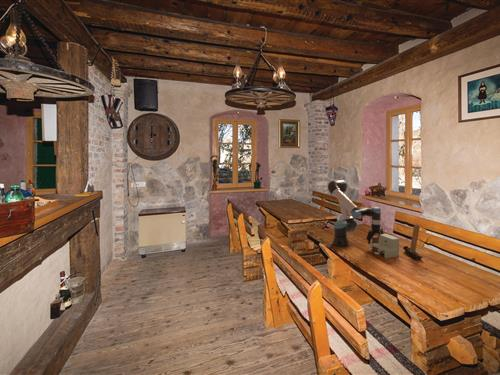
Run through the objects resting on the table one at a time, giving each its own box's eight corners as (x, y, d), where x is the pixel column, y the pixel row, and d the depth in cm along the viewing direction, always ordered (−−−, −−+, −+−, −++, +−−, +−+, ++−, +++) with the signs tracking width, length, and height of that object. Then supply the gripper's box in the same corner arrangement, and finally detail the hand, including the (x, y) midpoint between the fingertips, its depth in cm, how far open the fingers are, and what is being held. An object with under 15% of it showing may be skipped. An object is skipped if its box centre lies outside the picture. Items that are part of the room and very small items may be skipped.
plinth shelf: (372, 252, 246) (372, 235, 244) (384, 250, 250) (385, 233, 248) (385, 258, 230) (386, 240, 228) (398, 256, 234) (399, 238, 233)
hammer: (422, 262, 225) (428, 230, 216) (416, 262, 225) (422, 230, 216) (408, 250, 244) (413, 219, 235) (402, 250, 244) (407, 220, 235)
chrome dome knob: (372, 253, 244) (372, 251, 244) (378, 252, 245) (378, 250, 245) (377, 255, 238) (377, 253, 238) (383, 254, 239) (383, 253, 239)
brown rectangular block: (371, 248, 254) (372, 236, 252) (375, 248, 255) (375, 236, 254) (386, 255, 237) (387, 242, 235) (390, 254, 238) (390, 241, 237)
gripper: (368, 226, 243) (367, 249, 245) (389, 223, 250) (388, 245, 252) (362, 224, 250) (361, 246, 252) (383, 221, 257) (382, 243, 259)
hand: (375, 246), depth 252 cm, fingers open, 12 cm apart
